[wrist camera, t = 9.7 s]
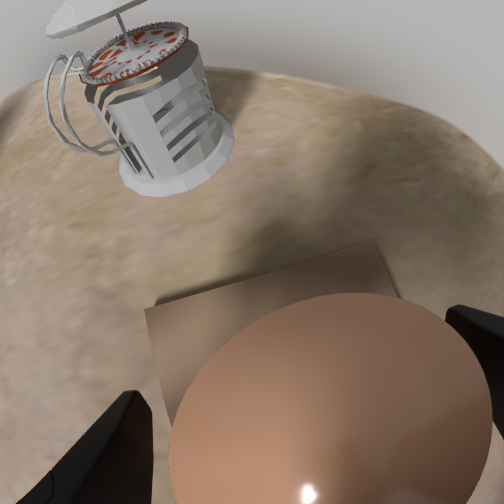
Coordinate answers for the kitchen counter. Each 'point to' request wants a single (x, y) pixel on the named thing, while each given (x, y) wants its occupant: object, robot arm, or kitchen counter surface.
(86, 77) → the french press
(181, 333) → the mat
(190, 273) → the kitchen counter surface
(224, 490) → the terracotta canister
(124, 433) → the robot arm
